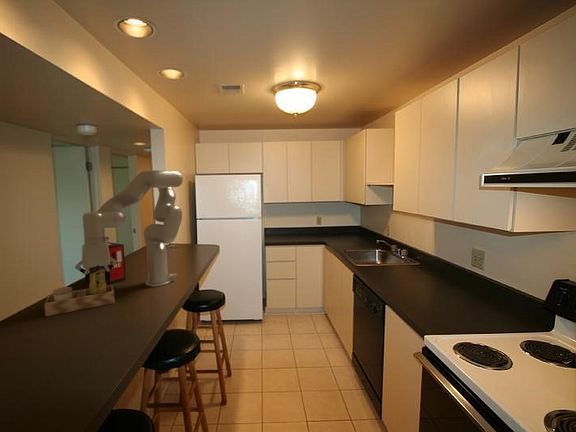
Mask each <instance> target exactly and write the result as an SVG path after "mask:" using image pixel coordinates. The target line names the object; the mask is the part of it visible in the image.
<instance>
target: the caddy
mask: <svg viewBox="0 0 576 432" xmlns="http://www.w3.org/2000/svg"><path fill="white" fill-rule="evenodd" d="M113 285H114V284H112V285H107V284H106V293H101V294H95V295H90V293H89V288H84V289H79V290H72V299H67V300H61V301H55V302H54V294H53V293H52V294H49V295H47V297H46V299H45V302H44V314H45V317H50V316H54V315H55V316H56V315H59V314H64V313H70V312H75V311H80V310H85V309H90V308H97V307H102V306H105V305H106V306H107V305H111V304H116V302H115V301H116V299H115V290H114V286H113Z"/></svg>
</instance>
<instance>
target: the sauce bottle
mask: <svg viewBox="0 0 576 432" xmlns="http://www.w3.org/2000/svg"><path fill="white" fill-rule="evenodd" d="M88 273H89V280H90V283H89V284H88V285H89V286H88V289H89V293H90V295H95V294H101V293H106V286H107V284H106V270H105V267H104V266H99V265H97V266H96V267H91V268H90V269H89V271H88Z"/></svg>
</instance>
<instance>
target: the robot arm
mask: <svg viewBox="0 0 576 432" xmlns="http://www.w3.org/2000/svg"><path fill="white" fill-rule="evenodd" d="M183 181H184V179H183V175H182V173H180V172H179V171H178V170H143V171H140V172H139V173H138V174H136V176H135V177H133V179H132V180H131V181H130V183H129V184H128V185H126V186H125V188H124V189H123V190H122V191H120V192H118V193H117V194H115V195H114V196H112V197H111V198H109V199H108V200H106V201H105V203H104V204H102V206H100V207H99V209H98V210H97V211H95V212H93V211H92V212H84V213H83V214H82V225H83V226H82V227H83V229H82V230H83V239H84V244H83V245H82V248H81V260H80V261H79V262H78V263H77V264H76V265H75V266H74V269H76V270H77V271H79V272H81V274H84V278H85V282H87V284H88V285H89V283H90V280H89V269H90V268H91V267H96V266H97V265H99V266H104V267H105V269H106V281H108V278H110V276H109V271H110V270H111V269H112V268H113V266H114V265H115V264H116V263H117V261H116V260H115V259H113V258H112V257H110V254H109V247H108V244H107V243H106V242H108V241H110V238H109V236H106V233H105V232H106V231H105V229H106V228H107V229H108V228H112V229H113V228H114V229H115V228H120V227H121V226H123V224H124V223H125V221H126V217H125V214H124V213H122V212H120V211H121V210H124V209H125V208H128V207H130V206H133V205H135V204H137V203H139V202H140V201H141V200H142V199H143V197H144V196H145V195H146V194H147V193H148V192H149V190H150V189H153V188H154V189H158V193H159V194H158V198H157V201H156V204H155V206H154V210H153V213H152V218H153V220H155V221H156V222H159V223H151V224H148V225H147V226H146V227H145V228H144V230H143V238H144V242H145V246H146V247H145V248H146V260H147V276H148V280H147V279H146V281H145V282H144V283H145V285H146V286H148V287H162V286H165V285H168V284H170V283H172V278H177V277H178V273H169V271H168V256H167V254H168V253H167V252H168V251H167V245H166V244H171V243H173V242H174V241H175V240H176V238H177V236H178V232H179V230H180V227H181V223H182V219H183V211H182V209H181V208H180V207H179V206H178V205H176V204H175V203H176V200H177V199H176V197H177V196H176V192H175V189H174V188H178V187H180V186H181V185H182V184H183ZM161 223H163V224H161ZM110 261H112V262H113V263H112V264H111V265H110V266H109V267H108V265H109V264H110ZM81 266H82V267H81Z"/></svg>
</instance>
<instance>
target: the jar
mask: <svg viewBox="0 0 576 432" xmlns="http://www.w3.org/2000/svg"><path fill="white" fill-rule="evenodd" d="M72 291H73V287H71V286H64V287H60V288H55V289H54V290H53V291H52V295H53V294H54V302H55V301H61V300H67V299H72Z"/></svg>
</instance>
